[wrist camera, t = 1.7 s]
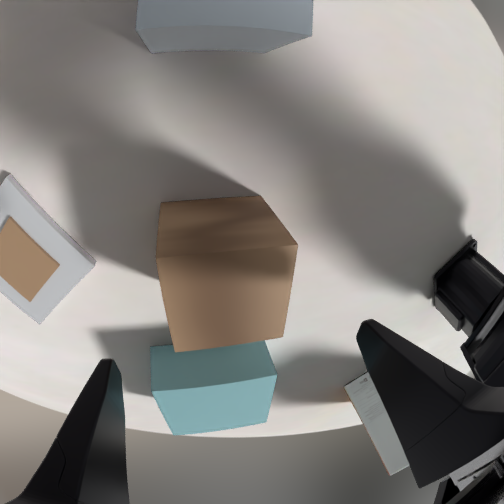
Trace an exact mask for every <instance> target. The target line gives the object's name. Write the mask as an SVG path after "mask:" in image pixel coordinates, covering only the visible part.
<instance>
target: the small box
mask: <svg viewBox="0 0 504 504" xmlns="http://www.w3.org/2000/svg"><path fill="white" fill-rule="evenodd" d="M344 389H345V391H346V393H347V395H348V397H349V398H350V400H351V402H352V404H353V406H354V408H355V410H356V412H357V414H358V415H359V417H360V419H361V421H362V423H363V425H364V427H365V429H366V431H367V433H368V435H369V436H370V438H371V440H372V442H373V444H374V446H375V448H376V450H377V452H378V454H379V456H380V458H381V460H382V462H383V464H384V466H385V468H386V470H387V472H388V474H389V475H392V474H394V473H396V472H398V471H400V470H402V469H403V468H405V467H407V466H409V463H408V460H407V458H406V456H405V453H404V450H403V448H402V446H401V443H400V441H399V439H398V436H397V434H396V432H395V429H394V427H393V425H392V423H391V420H390V418H389V416H388V414H387V411H386V409H385V407H384V405H383V403H382V401H381V398H380V396H379V394H378V392H377V390H376V388H375V386H374V383H373V381H372V379H371V377H370V375H369V373H368V372H367V373H365V374H364V375H362V376H360V377H359V378H357V379H356V380H354V381H353V382H351V383H349V384H348V385H346V386H345V387H344Z"/></svg>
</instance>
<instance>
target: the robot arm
mask: <svg viewBox="0 0 504 504" xmlns="http://www.w3.org/2000/svg"><path fill="white" fill-rule="evenodd" d="M434 289H435V307H436V309H437V310H438V311H440V313H441V314H442V315H443V316H444V317H445V318H446V319H447V320H448V321H449V323H450V324H451V325H452V326H453V327H454V328H455V330H456V331H460V330H461V329H462V330H463V331H464V332H465V334H466V335H467V336H468V337H469V338H468V339H467V340H466V342H465V343H463V344H462V346H461V347H460V348H461V350H462V352H463V355H464V357H465V358H466V360H467V362H468V364H469V366H470V368H471V370H472V372H473V374H474V376H475V378H476V380H475V379H473V378H471V377H469V376H467V375H465V374H463V373H461V372H459V371H458V370H456V369H454V368H452V367H451V366H449V365H447V364H446V363H444V362H442V361H441V360H439V359H437V358H436V357H434V356H433V355H431V354H429V353H428V352H426V351H424V350H423V349H421V348H420V347H418V346H416V345H415V344H413V343H411V342H410V341H408V340H406V339H405V338H403V337H401V336H400V335H398V334H397V333H395V332H393V331H392V330H390V329H388V328H387V327H385V326H383V325H382V324H380V323H378V322H377V321H375V320H373V319H369V320H365V321H363V322H362V323H361V326H360V328H359V330H358V333H357V336H356V339H357V343H358V345H359V348H360V351H361V354H362V356H363V359H364V362H365V365H366V368H367V370H368V373H369V375H370V377H371V379H372V381H373V383H374V386H375V388H376V390H377V392H378V394H379V396H380V398H381V401H382V403H383V405H384V407H385V409H386V411H387V414H388V416H389V418H390V420H391V423H392V425H393V427H394V429H395V432H396V434H397V436H398V439H399V441H400V443H401V446H402V448H403V450H404V453H405V456H406V458H407V460H408V463H409V465H410V468H411V470H412V473H413V475H414V477H415V480H416V483H417V485H418V487H419V488H422V487H424V486H426V485H428V484H430V483H432V482H435V481H437V480H439V479H440V478H442V477H444V476H446V475H448V474H449V476H448V477H447V478H446V479H444V480H443V481H442V482H440V484H439V488H438V492H437V495H436V498H435V501H434V504H504V275H503V274H502V273H501V272H500V271H499V270H498V269H497V268H496V267H494V266H493V265H492V264H491V263H490V262H489V261H487V260H486V259H485V258H484V257H483V256H481V255H480V254H479V253H478V252H477V241H476V240H475V239H472V240H471V241H470V242H469V243H468V244H467V245H466V246H465V247H464V248H463V249H462V250H461V251H460V252H459V253H458V254H457V255H456V256H455V257H454V258H453V259H452V260H451V261H450V262H449V263H448V264H447V265H446V266H444V267H443V268H442V269H441V270H440V271H439V272H438V273H437V274H436V275H435V277H434ZM125 447H126V446H125V412H124V402H123V391H122V378H121V373H120V371H119V369H118V367H117V365H116V363H115V361H114V360H113V359H111V358H109V359H102V360H100V362H99V364H98V365H97V367H96V368H95V370H94V372H93V373H92V375H91V377H90V378H89V380H88V381H87V383H86V385H85V386H84V388H83V390H82V392H81V393H80V395H79V397H78V398H77V400H76V402H75V404H74V405H73V407H72V409H71V411H70V412H69V414H68V416H67V418H66V420H65V421H64V423H63V425H62V427H61V429H60V431H59V432H58V434H57V438H55V440H54V442H53V444H52V446H51V447H50V449H49V451H48V453H47V455H46V457H45V458H44V460H43V461H42V463H41V465H40V466H39V468H38V469H37V471H36V472H35V474H34V475H33V477H32V479H31V480H30V482H29V483H28V485H27V486H26V488H25V489H24V491H23V492H22V493H21V494H20V495H19V496H18V497H16V498H15V499H13V500H11V501H9V502H7V503H5V504H129V493H128V483H127V468H126V448H125Z"/></svg>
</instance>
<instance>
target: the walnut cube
mask: <svg viewBox="0 0 504 504" xmlns="http://www.w3.org/2000/svg"><path fill="white" fill-rule="evenodd" d="M297 248H298V244H297V243H296V241H295V240H294V239H293V237H292V236H291V235H290V233H289V232H288V231H287V229H286V228H285V227H284V225H283V224H282V223H281V221H280V220H279V219H278V217H277V216H276V215H275V213H274V212H273V211H272V209H271V208H270V207H269V206H268V204H267V203H266V202H265V200H264V199H263V198H262V197H261V196H246V197H228V198H212V199H198V200H186V201H174V202H163V203H161V205H160V214H159V223H158V234H157V246H156V264H157V269H158V275H159V281H160V286H161V291H162V297H163V302H164V306H165V311H166V316H167V321H168V325H169V329H170V334H171V338H172V342H173V346H174V350H175V352H184V351H193V350H202V349H210V348H217V347H225V346H232V345H238V344H245V343H251V342H257V341H263V340H269V339H275V338H280V337H283V333H284V327H285V322H286V316H287V311H288V305H289V299H290V293H291V287H292V281H293V274H294V268H295V262H296V255H297Z"/></svg>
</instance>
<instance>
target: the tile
mask: <svg viewBox="0 0 504 504" xmlns="http://www.w3.org/2000/svg"><path fill="white" fill-rule="evenodd" d="M95 264H96V260H95V259H94V258H92V257H91V256H90V255H89V254H88V253H87V252H86V251H85V250H84V249H83V248H81V247H80V246H79V245H78V244H77V243H76V242H75V241H74V240H73V239H72V238H71V237H70V236H69V235H68V234H67V233H66V232H65V231H64V230H62V229H61V228H60V227H59V226H58V225H57V224H56V223H55V222H54V221H53V220H52V219H51V218H50V217H49V216H48V214H47V213H46V212H45V211H44V210H43V209H42V208H41V207H40V206H39V205H38V204H37V203H36V202H35V201H34V200H33V199H32V198H31V197H30V195H29V194H28V193H27V192H26V191H25V190H24V189H23V188H22V187H21V185H20V184H19V183H18V182H17V181H16V180H15V178H14V177H13V176H12V175H11V174H10V175H8V176H7V177H6V178H5V179H4V181H3V183H2V184H1V186H0V292H1V293H2V294H3V295H4V296H5V297H7V298H8V299H9V300H10V301H11V302H12V303H14V304H15V305H16V306H17V307H18V308H19V309H21V310H22V311H23V312H24V313H26V314H27V315H28V316H29V317H31V318H32V319H33V320H34V321H36V322H37V323H38V324H41V323H42V322H43V320H44V319H45V318H46V317H47V316H48V315H49V314H50V312H51V311H52V310H53V309H54V308H55V307H56V306H57V305H58V304H59V303H60V301H61V300H62V299H63V298H64V297H65V296H66V295H67V294H68V293H69V292H70V291H71V290H72V289H73V288H74V287H75V286H76V285H77V284H78V282H79V281H80V280H81V279H82V278H83V277H84V276H85V275H86V274H87V273H88V272H89V271H90V270H91V269H92V268H93V267H94V266H95Z"/></svg>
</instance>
